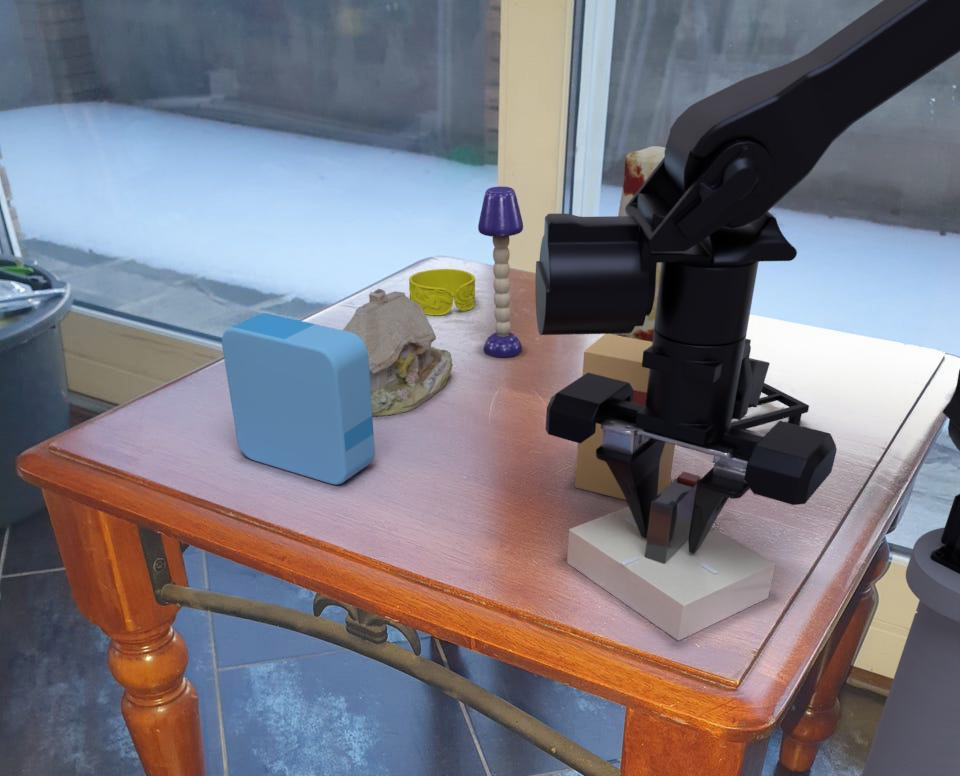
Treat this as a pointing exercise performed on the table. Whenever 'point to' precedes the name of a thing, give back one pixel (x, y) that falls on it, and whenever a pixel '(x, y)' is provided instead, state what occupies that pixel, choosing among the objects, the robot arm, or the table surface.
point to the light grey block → (670, 574)
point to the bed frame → (773, 394)
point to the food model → (634, 177)
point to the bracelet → (442, 290)
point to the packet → (625, 364)
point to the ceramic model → (399, 352)
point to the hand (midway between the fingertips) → (670, 542)
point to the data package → (300, 396)
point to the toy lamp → (501, 263)
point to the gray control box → (671, 518)
